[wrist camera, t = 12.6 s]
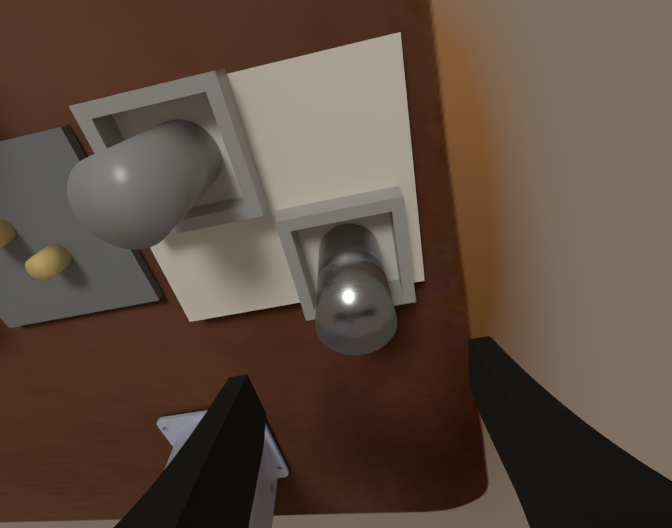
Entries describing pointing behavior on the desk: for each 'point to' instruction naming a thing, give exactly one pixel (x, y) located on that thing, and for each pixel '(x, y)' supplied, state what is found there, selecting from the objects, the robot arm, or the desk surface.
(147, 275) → the tile
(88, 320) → the desk surface
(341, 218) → the build board
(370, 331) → the pin
